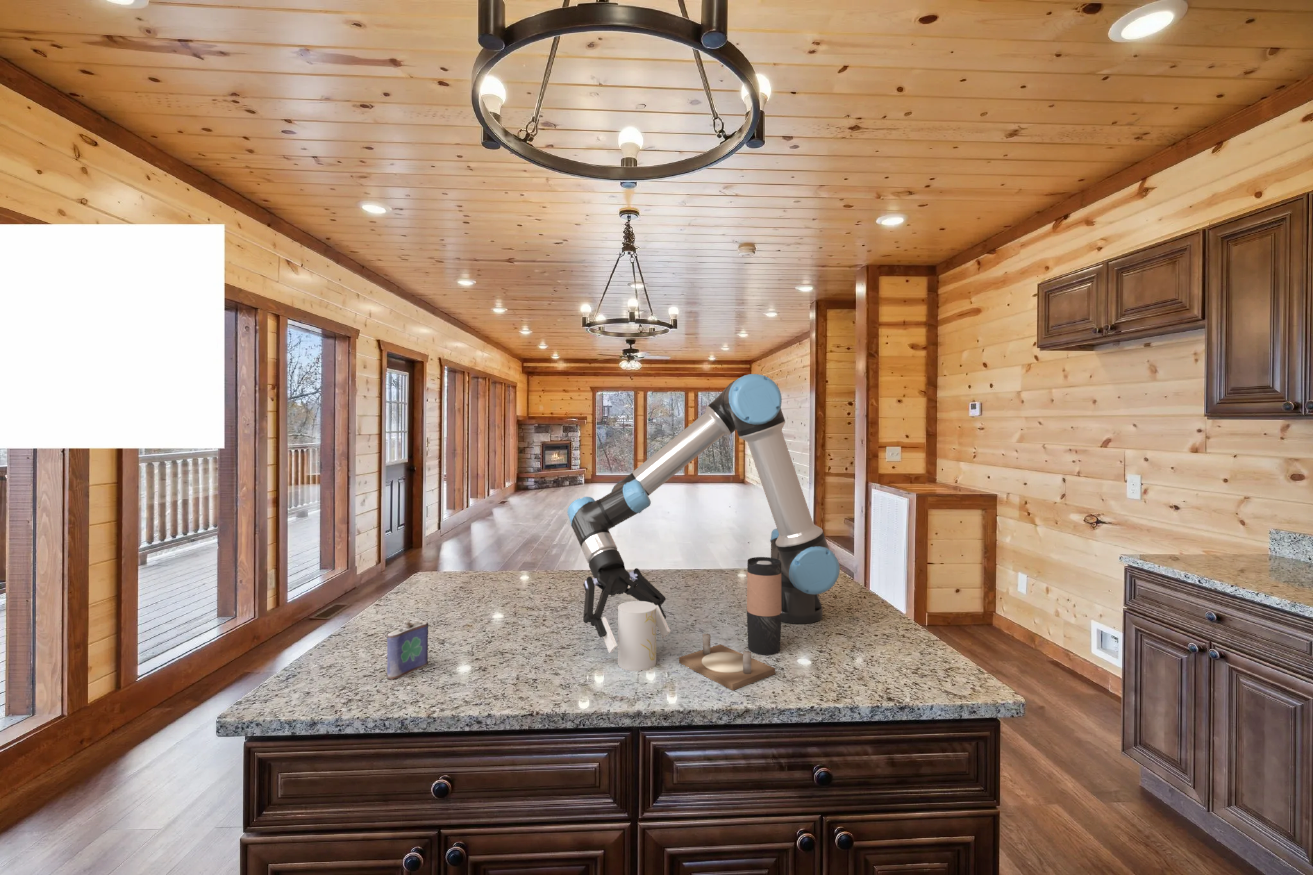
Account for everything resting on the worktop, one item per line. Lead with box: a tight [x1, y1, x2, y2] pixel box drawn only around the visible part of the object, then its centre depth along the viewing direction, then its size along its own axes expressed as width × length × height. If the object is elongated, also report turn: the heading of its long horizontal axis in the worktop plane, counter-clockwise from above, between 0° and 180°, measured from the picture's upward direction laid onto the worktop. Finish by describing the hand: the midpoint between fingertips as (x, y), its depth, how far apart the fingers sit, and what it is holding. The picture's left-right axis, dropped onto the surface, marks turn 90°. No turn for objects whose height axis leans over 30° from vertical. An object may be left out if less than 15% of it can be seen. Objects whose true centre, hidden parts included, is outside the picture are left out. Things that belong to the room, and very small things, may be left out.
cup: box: [617, 600, 657, 672], centre depth 122 cm, size 8×8×12 cm
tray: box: [678, 633, 776, 692], centre depth 119 cm, size 16×12×5 cm
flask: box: [386, 617, 429, 681], centre depth 118 cm, size 9×3×11 cm, turn 151°
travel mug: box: [746, 556, 782, 656], centre depth 129 cm, size 8×8×20 cm
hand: (641, 642), depth 120 cm, fingers open, 13 cm apart
